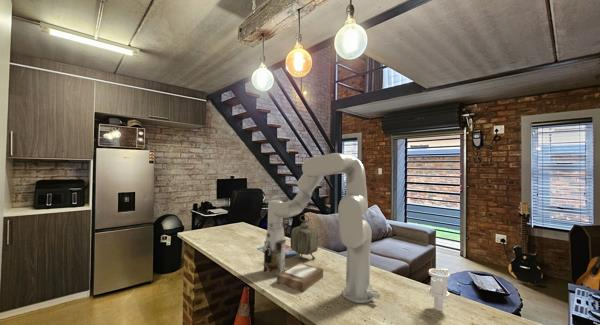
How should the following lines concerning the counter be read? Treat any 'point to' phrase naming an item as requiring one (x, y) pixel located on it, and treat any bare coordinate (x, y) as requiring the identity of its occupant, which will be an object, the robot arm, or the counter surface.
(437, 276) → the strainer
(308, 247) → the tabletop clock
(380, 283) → the counter surface
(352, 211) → the robot arm
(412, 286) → the counter surface
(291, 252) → the tablet
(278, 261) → the coffee box
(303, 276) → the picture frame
